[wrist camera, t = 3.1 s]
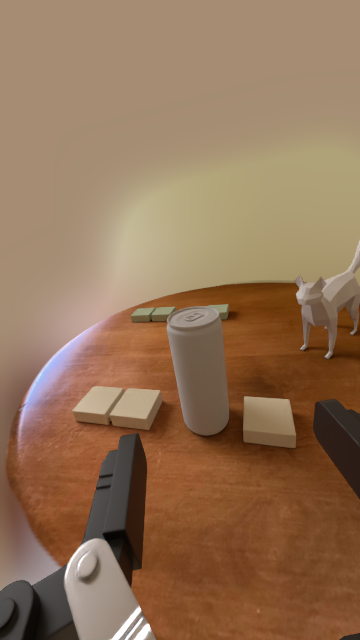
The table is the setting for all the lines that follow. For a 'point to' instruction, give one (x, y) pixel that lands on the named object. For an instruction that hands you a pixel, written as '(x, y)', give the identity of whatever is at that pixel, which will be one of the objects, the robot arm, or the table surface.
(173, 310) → the far word
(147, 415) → the near word
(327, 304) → the cat figurine
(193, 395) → the beverage can
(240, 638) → the table surface
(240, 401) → the table surface
